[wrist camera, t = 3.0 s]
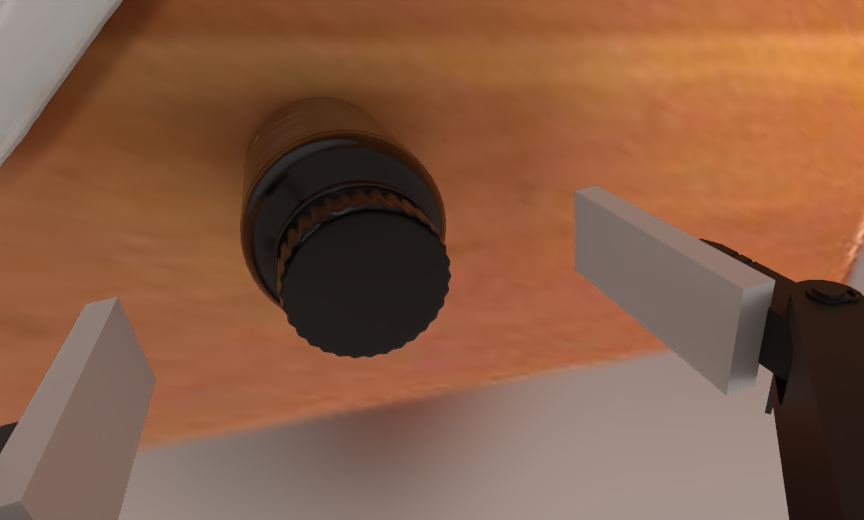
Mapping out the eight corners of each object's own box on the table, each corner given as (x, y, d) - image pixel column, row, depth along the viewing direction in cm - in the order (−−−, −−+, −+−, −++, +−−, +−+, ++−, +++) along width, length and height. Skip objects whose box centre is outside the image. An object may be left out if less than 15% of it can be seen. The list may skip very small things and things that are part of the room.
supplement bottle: (421, 150, 26) (533, 250, 16) (340, 261, 27) (396, 422, 17) (297, 59, 23) (337, 110, 12) (212, 190, 24) (184, 335, 14)
